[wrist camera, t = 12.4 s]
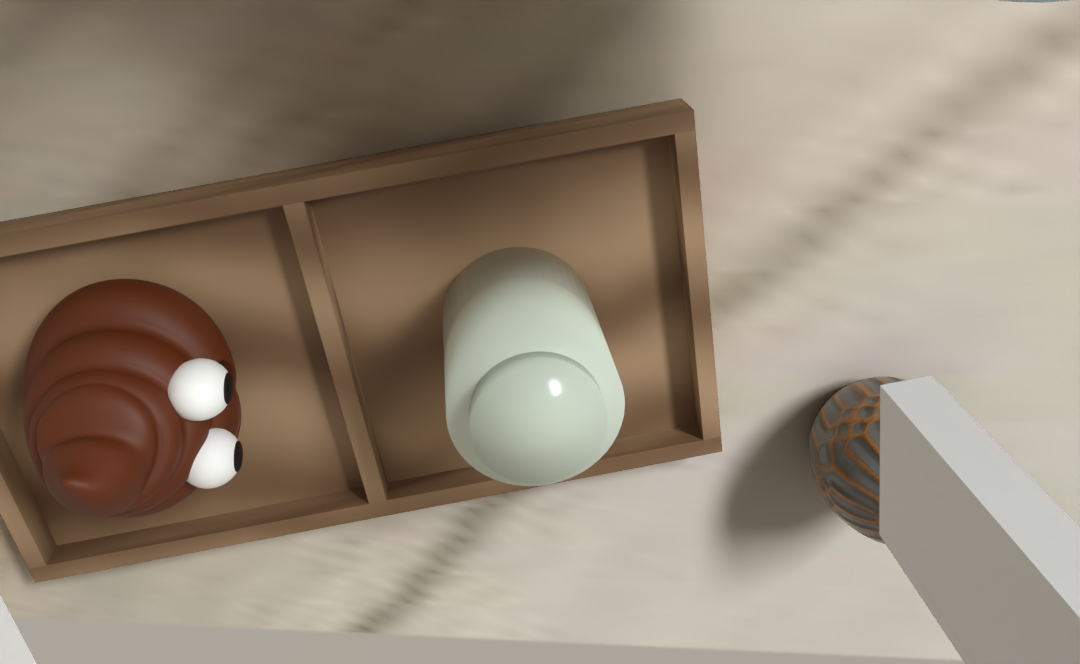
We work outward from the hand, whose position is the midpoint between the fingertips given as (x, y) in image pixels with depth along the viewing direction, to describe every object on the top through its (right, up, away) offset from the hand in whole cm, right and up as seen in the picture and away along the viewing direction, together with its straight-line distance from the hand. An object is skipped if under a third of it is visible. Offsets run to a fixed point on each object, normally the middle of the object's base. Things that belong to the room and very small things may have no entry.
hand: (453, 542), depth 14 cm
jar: (0, +4, +27) cm, 28 cm away
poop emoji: (-15, +1, +27) cm, 31 cm away
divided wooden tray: (-7, +3, +28) cm, 29 cm away
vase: (+17, -1, +33) cm, 37 cm away
